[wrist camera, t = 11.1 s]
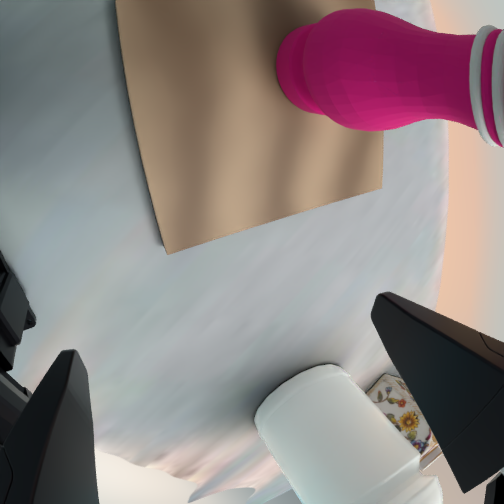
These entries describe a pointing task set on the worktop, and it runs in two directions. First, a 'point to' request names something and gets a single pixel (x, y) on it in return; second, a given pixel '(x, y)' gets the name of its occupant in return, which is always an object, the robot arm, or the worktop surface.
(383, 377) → the decorative jar
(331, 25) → the pepper mill
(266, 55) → the tan cloth
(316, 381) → the bottle
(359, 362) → the worktop surface
